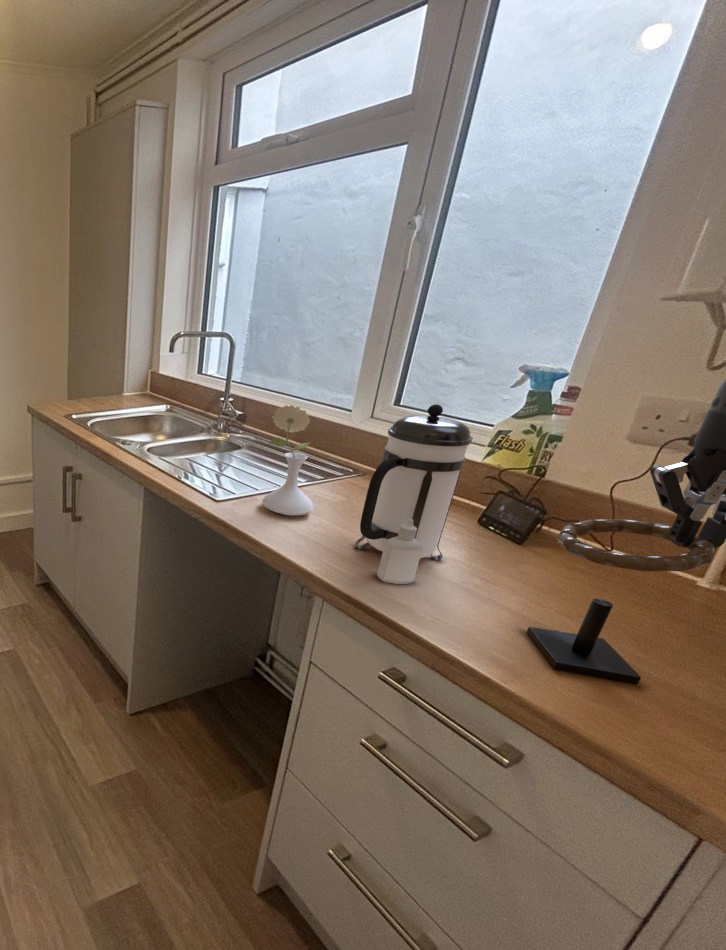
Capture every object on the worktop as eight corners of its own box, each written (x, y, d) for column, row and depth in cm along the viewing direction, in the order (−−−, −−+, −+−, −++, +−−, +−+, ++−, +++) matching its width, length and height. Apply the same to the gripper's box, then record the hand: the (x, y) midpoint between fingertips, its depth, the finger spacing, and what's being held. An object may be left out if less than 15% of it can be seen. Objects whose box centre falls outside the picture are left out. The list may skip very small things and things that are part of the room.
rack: (600, 645, 78) (625, 591, 74) (637, 684, 70) (668, 627, 67) (526, 632, 81) (546, 580, 77) (553, 669, 73) (578, 613, 70)
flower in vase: (321, 512, 125) (342, 407, 116) (296, 524, 119) (316, 415, 109) (271, 496, 135) (287, 399, 125) (245, 507, 129) (260, 405, 119)
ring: (666, 527, 72) (669, 515, 72) (745, 573, 60) (748, 559, 60) (539, 530, 77) (540, 519, 77) (588, 573, 66) (590, 560, 65)
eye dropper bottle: (411, 589, 93) (429, 527, 88) (375, 580, 96) (390, 520, 91) (413, 579, 96) (430, 519, 92) (378, 570, 99) (393, 512, 95)
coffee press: (347, 531, 115) (378, 394, 104) (434, 544, 109) (478, 400, 97) (350, 565, 101) (386, 411, 89) (450, 584, 94) (504, 419, 83)
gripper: (703, 413, 59) (639, 550, 66) (881, 422, 54) (793, 568, 61) (660, 400, 65) (605, 527, 72) (816, 408, 61) (742, 542, 67)
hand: (692, 545), depth 66 cm, fingers closed on ring, 2 cm apart
